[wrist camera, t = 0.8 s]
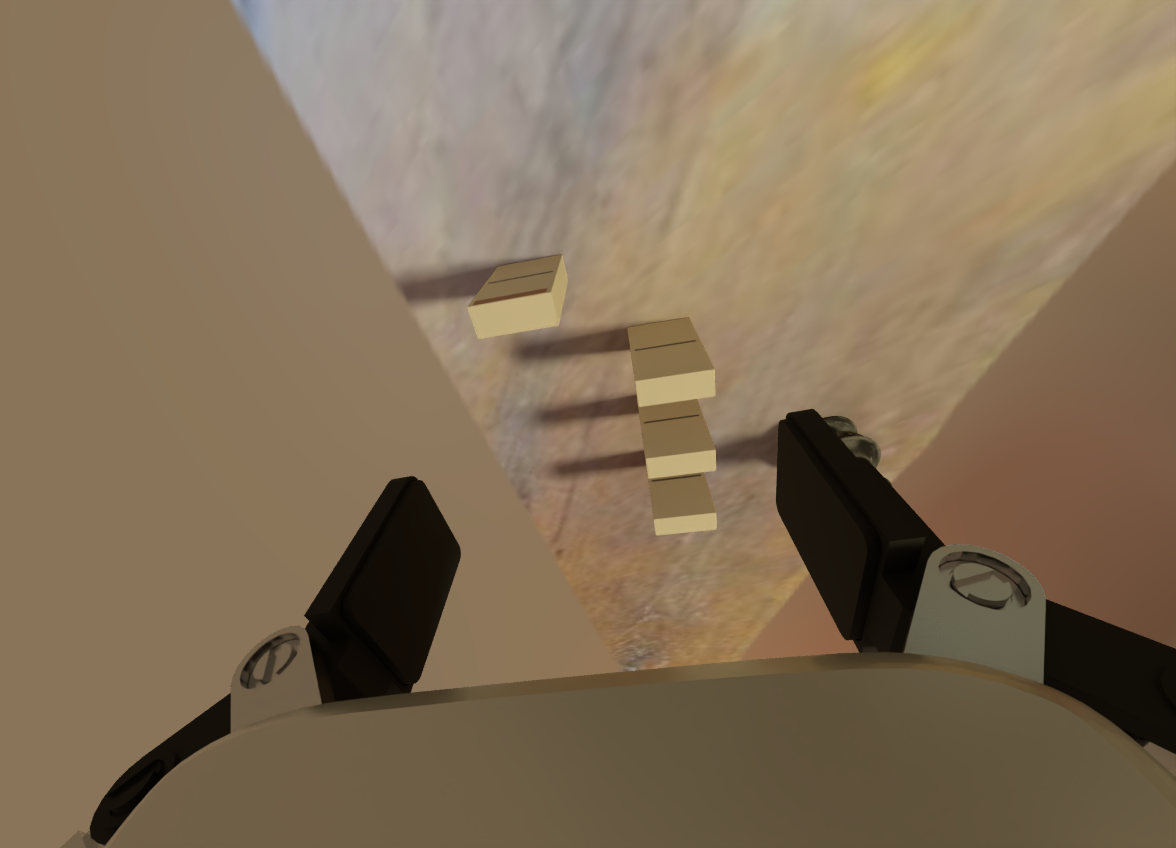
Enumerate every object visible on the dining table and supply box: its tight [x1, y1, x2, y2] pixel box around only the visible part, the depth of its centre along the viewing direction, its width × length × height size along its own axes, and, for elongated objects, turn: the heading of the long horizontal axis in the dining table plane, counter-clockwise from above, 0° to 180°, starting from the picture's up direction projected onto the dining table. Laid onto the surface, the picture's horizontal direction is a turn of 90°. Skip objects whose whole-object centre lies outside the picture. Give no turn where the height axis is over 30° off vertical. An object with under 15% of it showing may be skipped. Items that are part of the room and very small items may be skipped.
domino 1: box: [467, 254, 568, 339], centre depth 28 cm, size 2×5×9 cm, turn 100°
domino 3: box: [636, 395, 716, 479], centre depth 34 cm, size 2×5×9 cm, turn 100°
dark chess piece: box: [823, 416, 892, 486], centre depth 35 cm, size 6×6×12 cm
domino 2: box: [627, 317, 715, 407], centre depth 31 cm, size 2×5×9 cm, turn 100°
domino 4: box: [644, 451, 717, 536], centre depth 38 cm, size 2×5×9 cm, turn 100°
